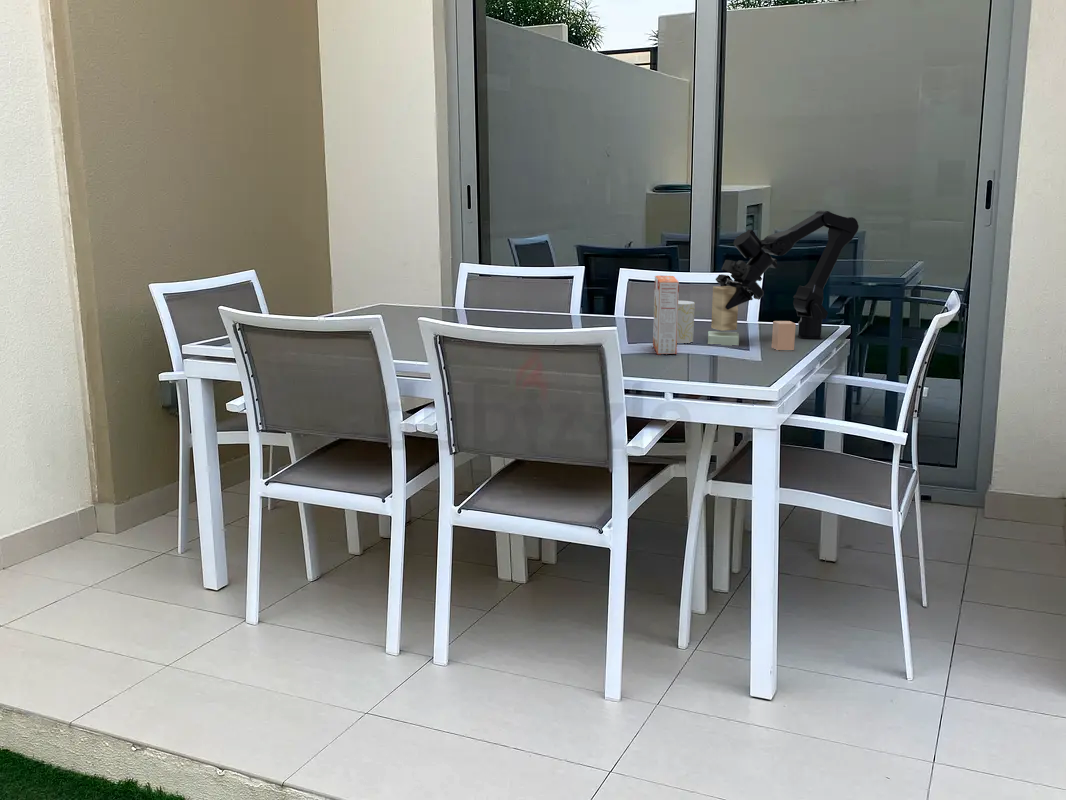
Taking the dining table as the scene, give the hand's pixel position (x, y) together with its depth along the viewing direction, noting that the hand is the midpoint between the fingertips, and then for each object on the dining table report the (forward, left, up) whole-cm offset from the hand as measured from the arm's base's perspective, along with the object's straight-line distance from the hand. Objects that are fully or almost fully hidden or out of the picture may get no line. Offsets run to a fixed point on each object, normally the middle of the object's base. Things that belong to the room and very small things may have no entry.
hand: (721, 307), depth 308 cm
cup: (+12, +1, -11) cm, 16 cm away
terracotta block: (-18, +7, -11) cm, 22 cm away
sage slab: (-1, -1, -11) cm, 11 cm away
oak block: (-1, -1, -7) cm, 7 cm away
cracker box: (+16, +17, -11) cm, 26 cm away
